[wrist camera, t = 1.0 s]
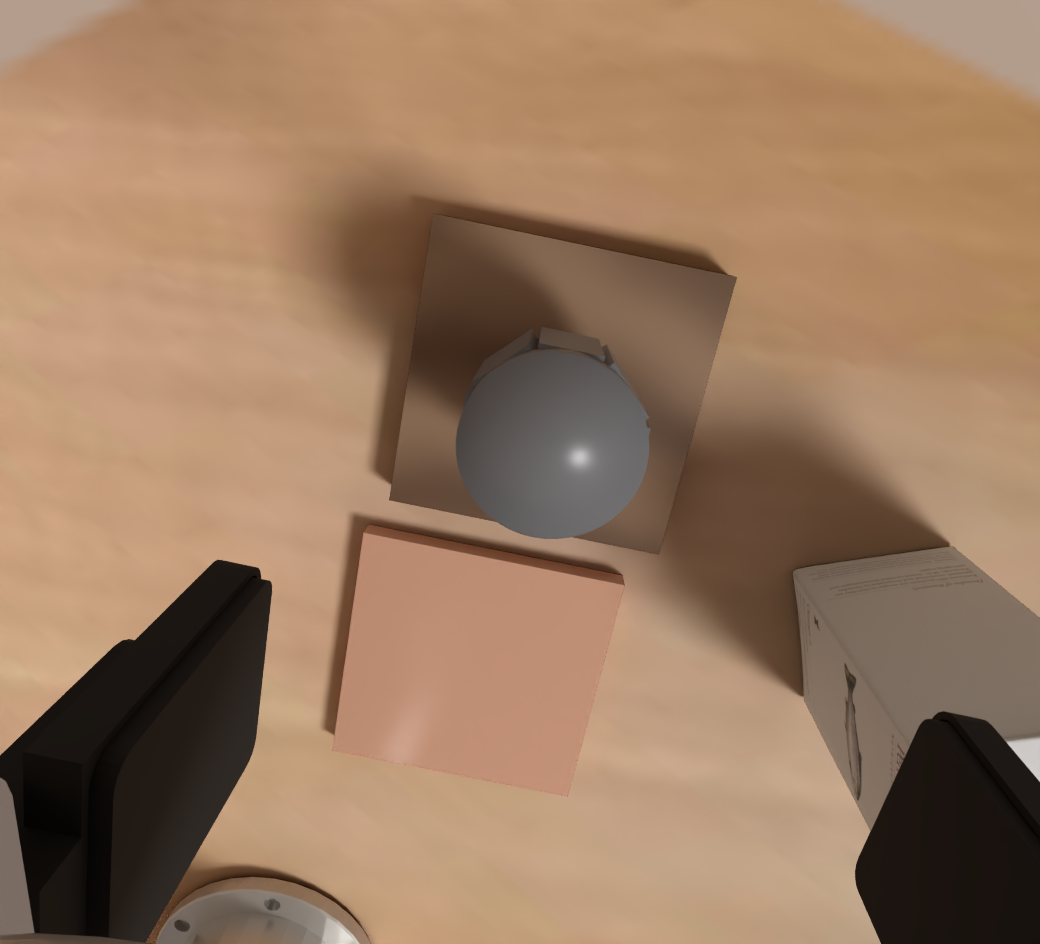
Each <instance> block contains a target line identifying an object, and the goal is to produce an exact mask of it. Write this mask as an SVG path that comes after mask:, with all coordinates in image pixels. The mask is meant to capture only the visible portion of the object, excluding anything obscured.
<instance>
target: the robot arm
mask: <svg viewBox="0 0 1040 944" xmlns="http://www.w3.org/2000/svg"><path fill="white" fill-rule="evenodd" d="M271 595H272V584H271V582H270V581H268V580H263V579H261V573H260V570H259V568H256V567H252V566H247V565H242V564H237V563H233V562H228V561H223V560H216V561H215V562H213V563H212V564H211V565H210V566H209V567H208V568H207V569H206V570H205V571H204V572H203V573H202V574H201V575H200V576H199V577H198V578H197V579H196V580H195V581H194V582H193V583H192V584H191V585H190V586H189V587H188V588H187V589H186V590H185V591H184V592H183V593H182V594H181V595H180V596H179V597H178V598H177V599H176V600H175V601H174V602H173V603H172V604H171V605H170V606H169V607H168V608H167V609H166V610H165V611H164V612H163V613H162V614H161V615H160V616H159V617H158V618H157V619H156V620H155V621H154V622H153V623H152V624H151V625H150V626H149V627H148V628H147V629H146V630H145V631H144V632H143V633H142V634H141V635H140V636H139V637H138V638H137V639H136V640H131V639H128V640H123V641H121V642H120V643H118V644H117V645H115V646H114V647H113V648H112V649H111V650H110V651H109V652H108V653H107V654H106V655H105V656H104V657H102V658H101V659H100V660H99V661H98V662H97V663H96V664H95V665H94V666H93V667H92V668H91V669H90V670H89V671H88V672H87V673H86V674H85V675H84V676H83V677H82V678H81V679H80V680H78V681H77V682H76V683H75V684H74V685H73V686H72V687H71V688H70V689H69V690H68V691H67V692H66V693H65V694H64V695H63V696H62V697H61V698H60V699H59V700H58V701H57V702H56V703H55V704H53V705H52V706H51V707H50V708H49V709H48V710H47V711H46V712H45V713H44V714H43V715H42V716H41V717H40V718H39V719H38V720H37V721H36V722H35V723H34V724H33V725H32V726H31V727H30V728H28V729H27V730H26V731H25V732H24V733H23V734H22V735H21V736H20V737H19V738H18V739H17V740H16V741H15V742H14V743H13V744H12V745H11V746H10V747H9V748H8V749H7V750H6V751H4V752H3V753H2V754H1V755H0V944H150V943H145V942H146V940H147V939H148V937H149V935H150V933H151V932H152V930H153V928H154V926H155V925H156V923H157V921H158V920H159V918H160V916H161V914H162V913H163V911H164V909H165V907H166V906H167V904H168V902H169V900H170V899H171V897H172V895H173V893H174V892H175V890H176V888H177V886H178V885H179V883H180V881H181V879H182V878H183V876H184V874H185V872H186V871H187V869H188V867H189V866H190V864H191V862H192V860H193V859H194V857H195V855H196V853H197V852H198V850H199V848H200V846H201V845H202V843H203V841H204V839H205V838H206V836H207V834H208V832H209V831H210V829H211V827H212V825H213V824H214V822H215V820H216V818H217V817H218V815H219V813H220V812H221V810H222V808H223V806H224V805H225V803H226V801H227V799H228V798H229V796H230V794H231V792H232V791H233V789H234V787H235V785H236V784H237V782H238V780H239V778H240V777H241V775H242V773H243V771H244V770H245V768H246V766H247V764H248V762H249V760H250V757H251V755H252V752H253V749H254V745H255V740H256V734H257V724H258V715H259V706H260V697H261V688H262V678H263V669H264V660H265V651H266V641H267V632H268V623H269V614H270V604H271ZM855 880H856V886H857V889H858V892H859V894H860V896H861V899H862V901H863V903H864V906H865V908H866V910H867V912H868V915H869V917H870V919H871V922H872V924H873V926H874V928H875V931H876V933H877V935H878V937H879V940H880V942H881V944H1040V781H1039V780H1038V779H1037V778H1036V777H1035V775H1034V774H1033V773H1032V772H1031V771H1030V770H1029V768H1028V767H1027V766H1026V765H1025V764H1024V762H1023V761H1022V760H1021V759H1020V758H1019V757H1018V755H1017V754H1016V753H1015V752H1014V751H1013V749H1012V748H1011V747H1010V746H1009V745H1008V744H1007V742H1006V741H1005V740H1004V739H1003V738H1002V736H1001V735H1000V734H999V733H998V732H997V731H996V729H995V728H994V727H993V726H992V725H991V724H990V723H989V722H988V721H986V720H983V719H979V718H974V717H969V716H965V715H960V714H955V713H950V712H946V711H942V712H938V713H937V714H936V715H935V716H933V718H932V719H925V720H924V721H923V722H921V724H920V726H919V727H918V729H917V731H916V734H915V736H914V738H913V740H912V742H911V745H910V747H909V749H908V751H907V753H906V755H905V758H904V760H903V762H902V764H901V766H900V769H899V771H898V773H897V775H896V777H895V779H894V782H893V784H892V786H891V788H890V790H889V793H888V795H887V797H886V799H885V801H884V803H883V806H882V808H881V810H880V812H879V814H878V817H877V819H876V821H875V823H874V825H873V827H872V830H871V832H870V834H869V836H868V838H867V841H866V843H865V845H864V847H863V849H862V851H861V854H860V856H859V858H858V861H857V864H856V870H855ZM156 944H371V943H370V941H369V939H368V938H367V936H366V934H365V932H364V931H363V929H362V928H361V927H360V926H359V925H358V923H357V922H356V921H355V920H354V919H353V918H352V917H351V915H350V914H348V913H347V912H346V911H345V910H343V909H342V908H341V907H340V906H339V905H337V904H336V903H335V902H334V901H332V900H330V899H328V898H327V897H325V896H323V895H321V894H320V893H318V892H316V891H314V890H311V889H309V888H306V887H304V886H301V885H298V884H296V883H292V882H287V881H283V880H279V879H274V878H262V877H243V878H231V879H227V880H223V881H218V882H214V883H211V884H209V885H207V886H204V887H202V888H200V889H198V890H195V891H194V892H192V893H191V894H190V895H188V896H187V897H186V898H184V899H183V900H181V901H180V903H179V904H178V905H177V906H176V907H175V908H174V910H173V911H172V912H171V913H170V915H169V916H168V918H167V920H166V922H165V924H164V925H163V927H162V929H161V930H160V932H159V935H158V938H157V941H156Z"/></svg>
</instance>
